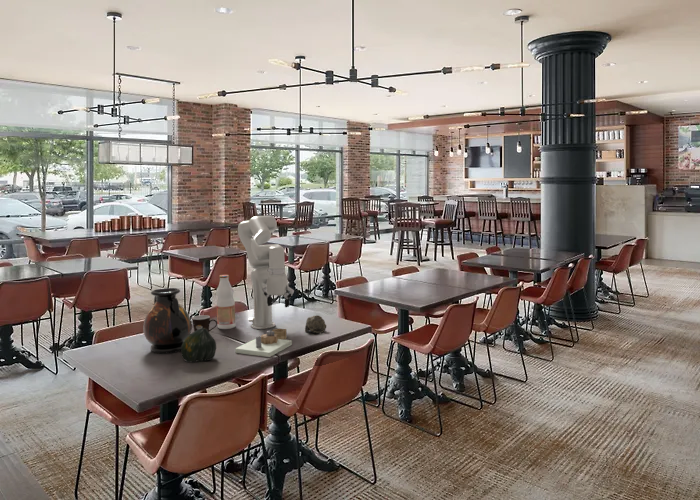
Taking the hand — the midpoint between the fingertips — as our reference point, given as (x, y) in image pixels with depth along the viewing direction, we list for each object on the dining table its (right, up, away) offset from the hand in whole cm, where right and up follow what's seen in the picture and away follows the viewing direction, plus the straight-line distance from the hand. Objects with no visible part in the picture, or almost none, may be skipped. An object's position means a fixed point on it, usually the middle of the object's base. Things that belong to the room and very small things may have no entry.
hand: (278, 306), depth 274 cm
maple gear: (0, -16, +2) cm, 16 cm away
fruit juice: (-31, -14, +25) cm, 43 cm away
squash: (-31, -21, -29) cm, 47 cm away
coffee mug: (-38, -16, +7) cm, 42 cm away
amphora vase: (-50, -19, -12) cm, 54 cm away
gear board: (-5, -18, -14) cm, 24 cm away
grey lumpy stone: (+17, -15, +13) cm, 26 cm away
